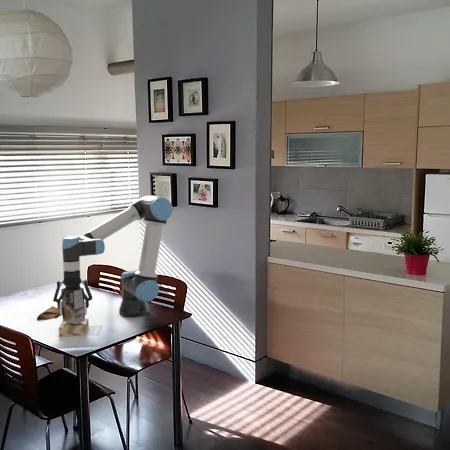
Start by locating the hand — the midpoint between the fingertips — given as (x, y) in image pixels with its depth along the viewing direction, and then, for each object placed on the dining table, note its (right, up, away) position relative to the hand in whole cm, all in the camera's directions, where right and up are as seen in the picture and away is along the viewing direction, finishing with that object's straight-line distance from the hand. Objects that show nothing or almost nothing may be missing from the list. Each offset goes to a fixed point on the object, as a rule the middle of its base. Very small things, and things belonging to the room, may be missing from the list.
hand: (73, 314), depth 240 cm
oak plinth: (0, -8, +1) cm, 8 cm away
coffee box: (0, -3, +1) cm, 3 cm away
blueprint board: (+3, -9, +2) cm, 10 cm away
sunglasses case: (-20, -6, +27) cm, 34 cm away
